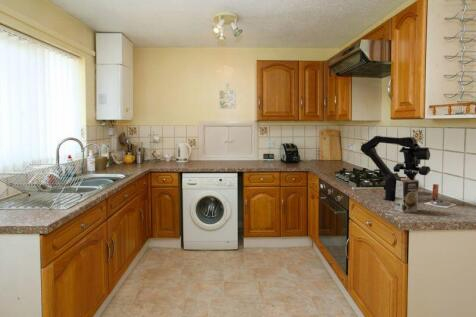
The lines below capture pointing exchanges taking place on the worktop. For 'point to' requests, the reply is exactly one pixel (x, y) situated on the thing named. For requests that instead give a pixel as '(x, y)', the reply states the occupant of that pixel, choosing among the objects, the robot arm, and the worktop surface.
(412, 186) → the coffee box
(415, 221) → the worktop surface
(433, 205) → the wheel base
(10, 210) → the worktop surface
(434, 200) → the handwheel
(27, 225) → the worktop surface
